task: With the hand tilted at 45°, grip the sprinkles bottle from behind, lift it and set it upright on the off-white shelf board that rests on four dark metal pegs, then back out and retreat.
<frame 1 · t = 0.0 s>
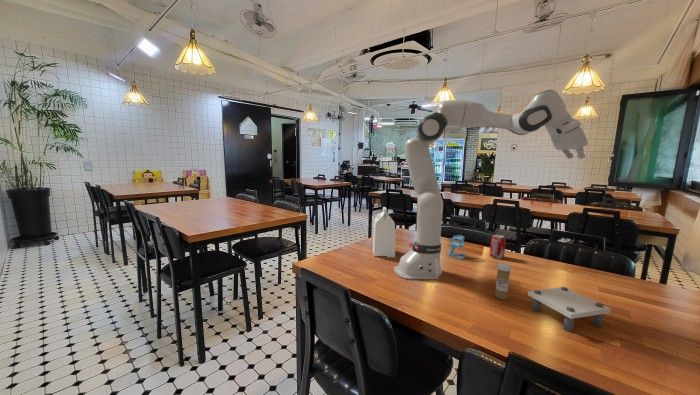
hand: (576, 158, 117), 54 cm above the table, tool tilted 30°, fingers open, 8 cm apart
soda can: (496, 257, 160), on the table
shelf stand: (564, 317, 100), on the table
sprinkles bottle: (501, 297, 114), on the table
milk: (383, 253, 164), on the table
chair: (456, 256, 161), on the table
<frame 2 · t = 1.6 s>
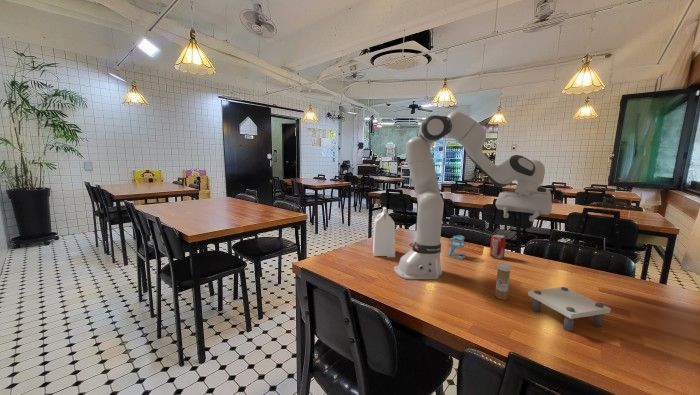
hand: (518, 218, 119), 29 cm above the table, tool tilted 45°, fingers open, 8 cm apart
nothing on the table moved.
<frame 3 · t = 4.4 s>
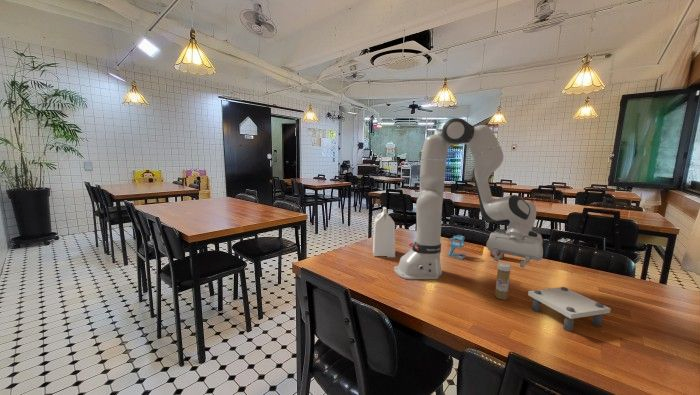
hand: (508, 263, 116), 12 cm above the table, tool tilted 45°, fingers open, 8 cm apart
nothing on the table moved.
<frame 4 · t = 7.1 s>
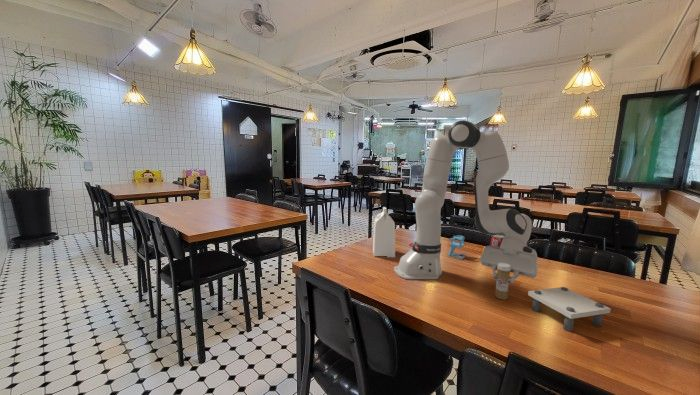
hand: (502, 279, 112), 7 cm above the table, tool tilted 45°, fingers closed on sprinkles bottle, 4 cm apart
sprinkles bottle: (501, 297, 114), on the table, touching gripper
everything else where it was.
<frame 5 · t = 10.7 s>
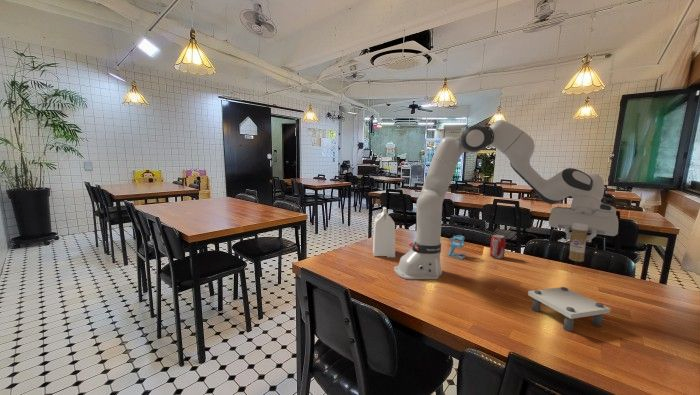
hand: (578, 239, 105), 25 cm above the table, tool tilted 45°, fingers closed on sprinkles bottle, 4 cm apart
sprinkles bottle: (576, 260, 107), point 17 cm above the table, touching gripper
everything else where it was.
when the fingers open (15 cm above the table, at t = 14.4 s): sprinkles bottle stays where it is, resting on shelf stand.
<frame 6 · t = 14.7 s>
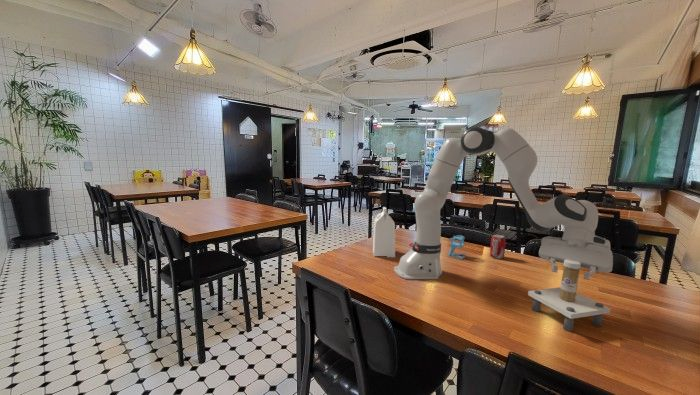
hand: (569, 275, 97), 15 cm above the table, tool tilted 45°, fingers open, 7 cm apart
sprinkles bottle: (567, 299, 99), point 6 cm above the table, touching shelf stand
everything else where it was.
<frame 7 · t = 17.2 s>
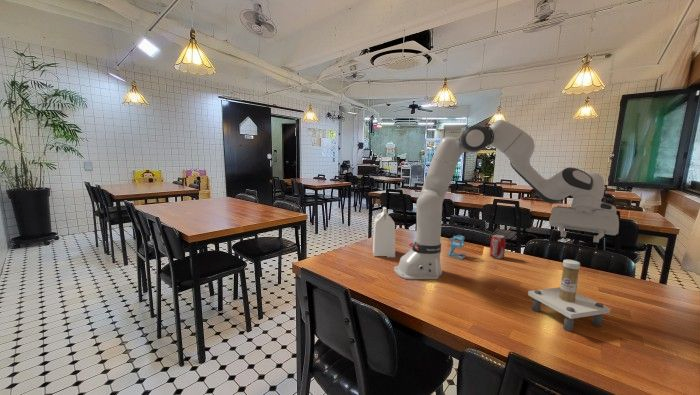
hand: (578, 238, 105), 25 cm above the table, tool tilted 45°, fingers open, 8 cm apart
nothing on the table moved.
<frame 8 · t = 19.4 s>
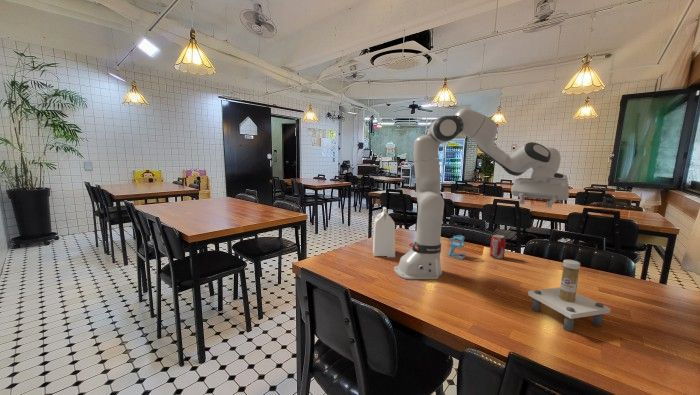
hand: (534, 204, 118), 35 cm above the table, tool tilted 45°, fingers open, 8 cm apart
nothing on the table moved.
at the end: sprinkles bottle inside the target area on the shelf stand (0.1 cm from its centre), point 6.3 cm above the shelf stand's base; sprinkles bottle tilted 0°; the gripper is holding nothing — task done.
